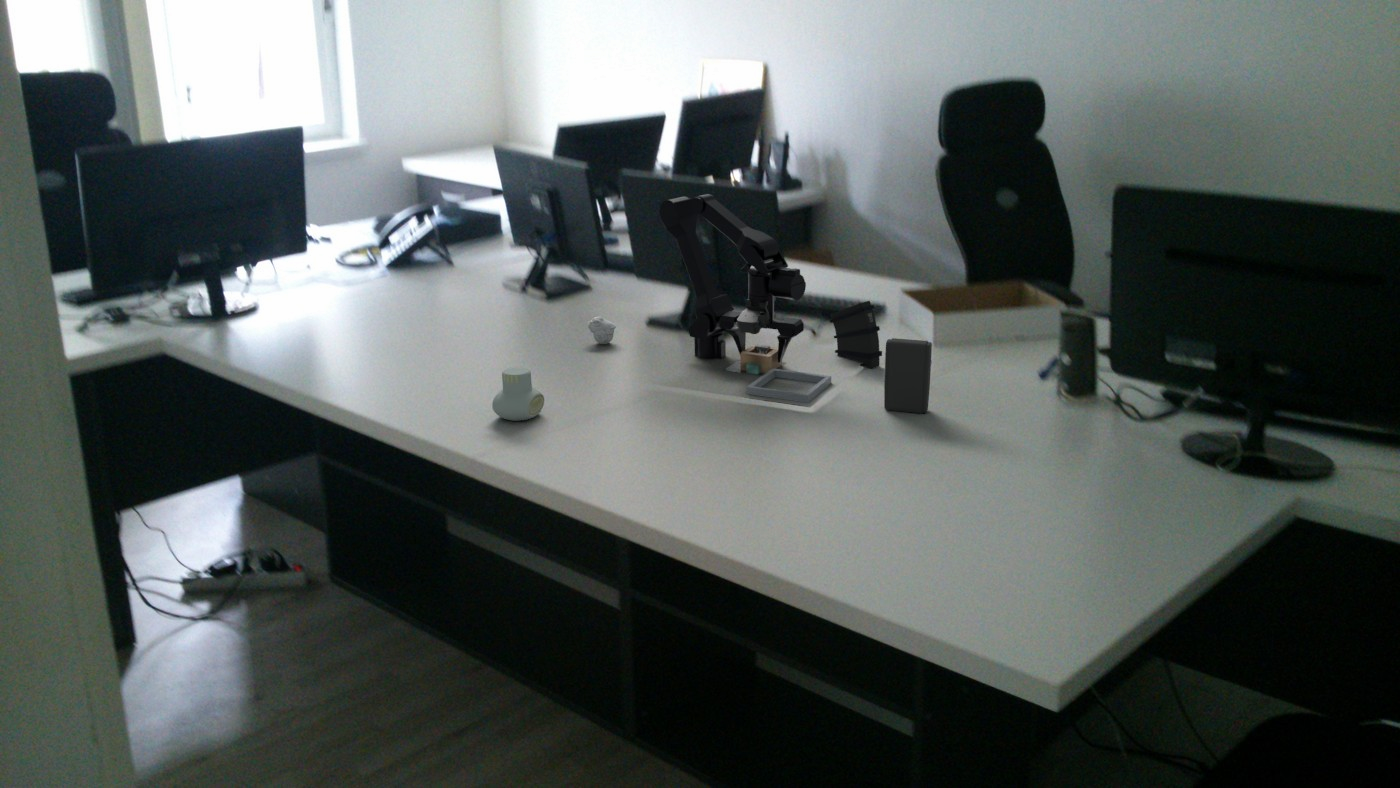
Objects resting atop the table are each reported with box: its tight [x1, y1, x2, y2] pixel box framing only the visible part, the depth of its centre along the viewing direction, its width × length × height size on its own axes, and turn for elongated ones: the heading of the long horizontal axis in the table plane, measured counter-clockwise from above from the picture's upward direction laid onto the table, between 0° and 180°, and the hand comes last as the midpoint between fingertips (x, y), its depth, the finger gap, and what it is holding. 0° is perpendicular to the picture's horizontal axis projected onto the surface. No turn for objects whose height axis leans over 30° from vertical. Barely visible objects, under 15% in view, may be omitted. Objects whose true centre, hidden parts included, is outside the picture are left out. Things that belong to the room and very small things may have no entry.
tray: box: [746, 368, 832, 407], centre depth 259 cm, size 14×14×2 cm
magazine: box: [829, 300, 883, 370], centre depth 278 cm, size 4×13×15 cm, turn 40°
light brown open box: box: [739, 344, 783, 376], centre depth 272 cm, size 7×9×4 cm
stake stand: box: [723, 344, 787, 377], centre depth 274 cm, size 11×11×6 cm
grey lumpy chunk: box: [587, 316, 617, 345], centre depth 296 cm, size 6×7×7 cm
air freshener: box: [492, 366, 545, 422], centre depth 247 cm, size 11×8×10 cm
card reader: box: [883, 337, 933, 414], centre depth 246 cm, size 9×4×15 cm, turn 71°
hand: (761, 359), depth 273 cm, fingers open, 9 cm apart
